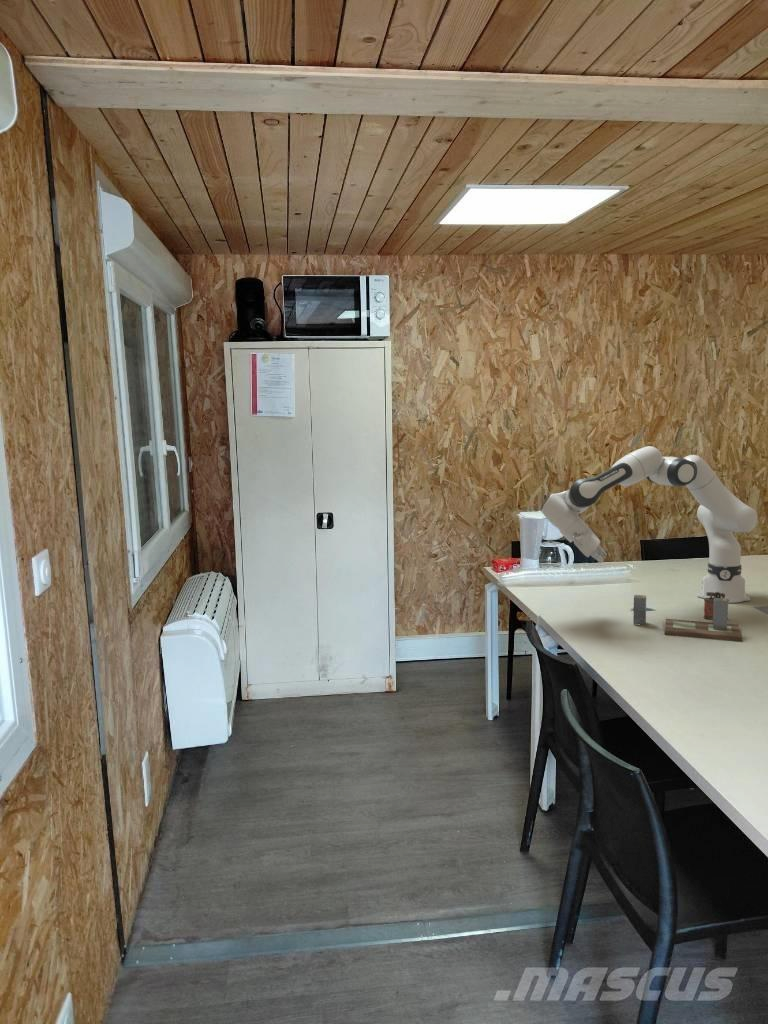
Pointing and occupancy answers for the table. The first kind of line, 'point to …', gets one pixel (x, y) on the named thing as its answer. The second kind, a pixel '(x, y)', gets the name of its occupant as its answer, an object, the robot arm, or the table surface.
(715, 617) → the block
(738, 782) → the table surface
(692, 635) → the pallet
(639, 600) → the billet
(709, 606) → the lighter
